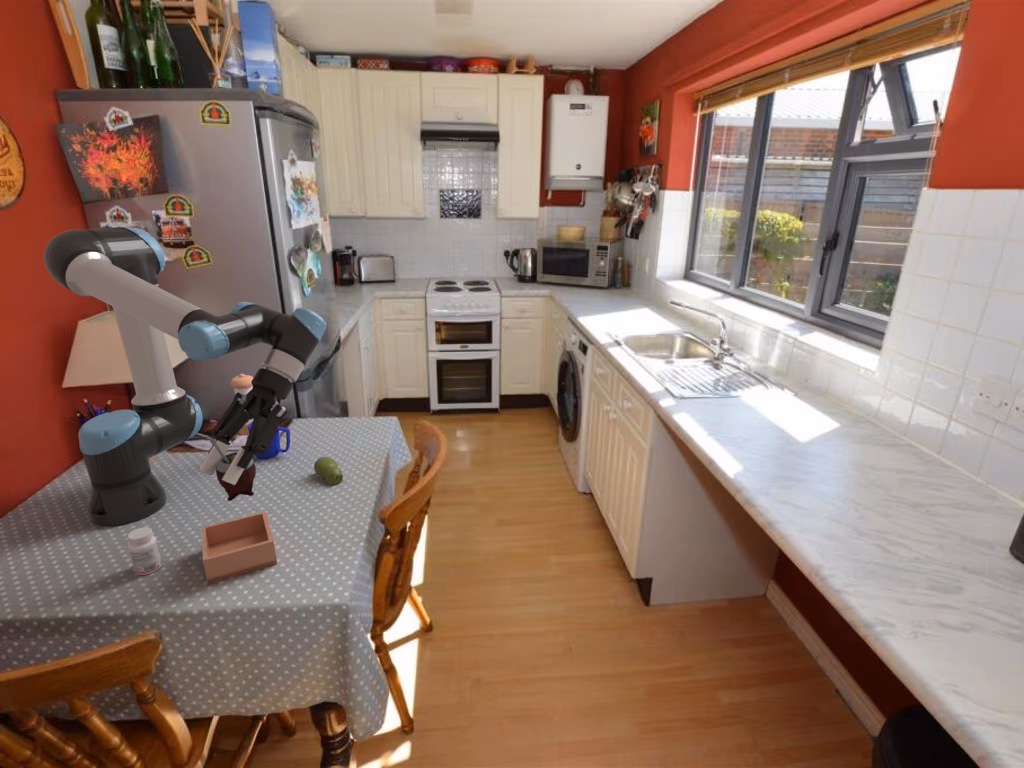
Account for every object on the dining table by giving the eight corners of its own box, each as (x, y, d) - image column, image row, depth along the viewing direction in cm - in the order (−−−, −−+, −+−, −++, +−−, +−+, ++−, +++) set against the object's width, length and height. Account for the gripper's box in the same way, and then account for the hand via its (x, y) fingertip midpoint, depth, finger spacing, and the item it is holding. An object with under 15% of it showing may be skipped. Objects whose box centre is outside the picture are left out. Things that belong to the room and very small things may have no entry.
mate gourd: (265, 486, 111) (257, 421, 105) (240, 507, 103) (229, 438, 98) (234, 481, 112) (224, 416, 107) (206, 501, 105) (194, 433, 100)
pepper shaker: (233, 433, 169) (223, 376, 162) (247, 424, 176) (238, 369, 169) (253, 435, 168) (244, 378, 161) (267, 426, 174) (259, 371, 168)
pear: (329, 450, 146) (348, 468, 141) (329, 466, 149) (348, 484, 143) (309, 457, 142) (329, 475, 137) (310, 473, 145) (329, 492, 139)
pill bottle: (143, 560, 110) (134, 526, 107) (167, 559, 110) (158, 525, 107) (129, 576, 105) (119, 540, 102) (154, 575, 106) (145, 539, 103)
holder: (207, 584, 103) (202, 560, 102) (205, 549, 114) (201, 527, 112) (277, 563, 110) (273, 541, 108) (269, 532, 120) (265, 511, 118)
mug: (284, 464, 150) (279, 432, 147) (246, 459, 152) (241, 428, 149) (300, 451, 158) (296, 420, 154) (264, 447, 160) (259, 417, 157)
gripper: (321, 392, 110) (263, 497, 102) (259, 376, 118) (201, 471, 110) (297, 375, 103) (234, 485, 95) (234, 359, 112) (170, 458, 104)
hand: (216, 477), depth 103 cm, fingers closed on mate gourd, 6 cm apart
